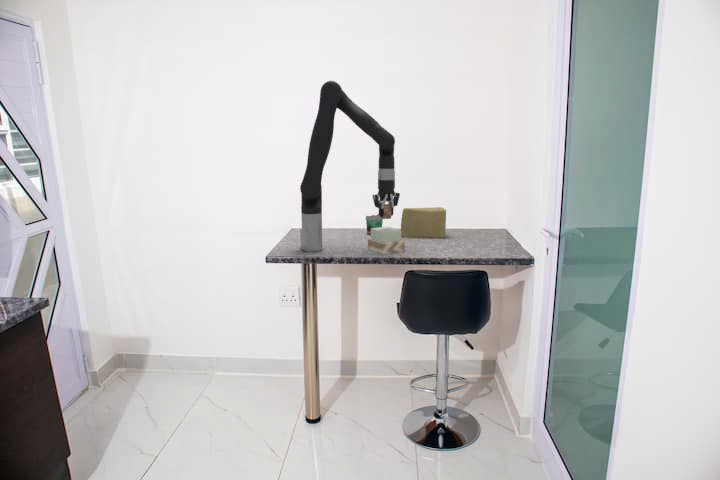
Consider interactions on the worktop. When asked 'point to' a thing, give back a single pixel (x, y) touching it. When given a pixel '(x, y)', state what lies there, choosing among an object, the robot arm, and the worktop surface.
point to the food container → (373, 222)
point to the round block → (387, 211)
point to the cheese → (423, 222)
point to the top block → (385, 234)
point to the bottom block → (386, 246)
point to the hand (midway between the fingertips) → (386, 216)
